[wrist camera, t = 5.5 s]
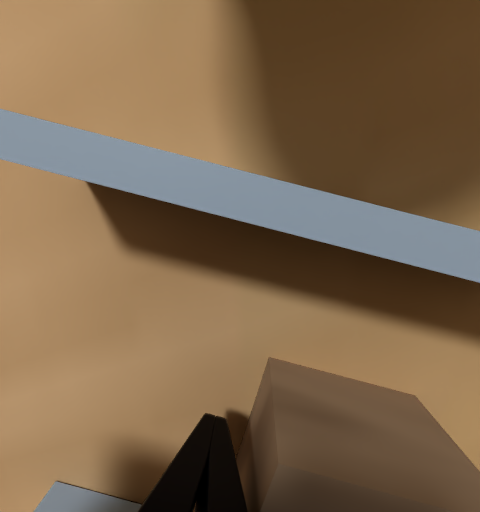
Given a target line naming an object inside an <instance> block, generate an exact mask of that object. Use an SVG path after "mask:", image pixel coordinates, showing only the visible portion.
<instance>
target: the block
mask: <svg viewBox="0 0 480 512" xmlns="http://www.w3.org/2000/svg"><path fill="white" fill-rule="evenodd" d="M236 463H237V467H238V471H239V475H240V480H241V484H242V488H243V493H244V497H245V501H246V506H247V510H248V512H480V471H479V470H478V469H477V468H476V467H475V466H474V464H473V463H472V462H471V461H470V460H469V459H468V457H467V456H466V455H465V454H464V453H463V451H462V450H461V449H460V448H459V447H458V446H457V444H456V443H455V442H454V441H453V440H452V438H451V437H450V436H449V435H448V434H447V433H446V431H445V430H444V429H443V428H442V427H441V426H440V424H439V423H438V422H437V421H436V420H435V418H434V417H433V416H432V415H431V414H430V413H429V411H428V410H427V409H426V408H425V407H424V406H423V404H422V403H421V402H420V401H419V400H418V398H417V397H416V396H415V395H411V394H407V393H403V392H399V391H396V390H392V389H388V388H384V387H380V386H377V385H373V384H369V383H365V382H362V381H358V380H354V379H350V378H346V377H343V376H339V375H335V374H331V373H327V372H324V371H320V370H316V369H312V368H308V367H305V366H301V365H297V364H293V363H290V362H286V361H282V360H278V359H274V358H271V357H269V358H268V362H267V365H266V368H265V371H264V374H263V377H262V380H261V383H260V386H259V389H258V393H257V396H256V399H255V402H254V405H253V408H252V411H251V414H250V417H249V421H248V424H247V427H246V430H245V433H244V436H243V439H242V442H241V445H240V448H239V452H238V455H237V458H236Z"/></svg>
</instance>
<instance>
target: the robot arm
mask: <svg viewBox="0 0 480 512" xmlns="http://www.w3.org/2000/svg"><path fill="white" fill-rule="evenodd" d="M195 503H196V506H195ZM194 507H195V512H248V510H247V506H246V501H245V497H244V493H243V488H242V484H241V480H240V475H239V471H238V467H237V463H236V458H235V454H234V450H233V445H232V441H231V437H230V433H229V428H228V424H227V420H226V419H225V418H223V417H219V416H216V417H215V415H212V414H208V413H205V414H204V415H203V417H202V418H201V420H200V421H199V423H198V424H197V426H196V427H195V429H194V430H193V431H192V433H191V434H190V436H189V437H188V439H187V440H186V442H185V443H184V445H183V446H182V447H181V449H180V450H179V452H178V453H177V455H176V456H175V458H174V459H173V461H172V462H171V464H170V465H169V466H168V468H167V469H166V471H165V472H164V474H163V475H162V477H161V478H160V480H159V481H158V483H157V484H156V485H155V487H154V488H153V490H152V491H151V493H150V494H149V496H148V497H147V499H146V500H145V501H144V503H143V504H142V506H141V507H140V509H139V510H138V512H193V510H194Z"/></svg>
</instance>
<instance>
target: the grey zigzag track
mask: <svg viewBox="0 0 480 512" xmlns="http://www.w3.org/2000/svg"><path fill="white" fill-rule="evenodd" d="M0 159H2V160H6V161H10V162H14V163H18V164H22V165H25V166H29V167H33V168H37V169H41V170H45V171H49V172H53V173H56V174H60V175H64V176H68V177H72V178H76V179H80V180H84V181H87V182H91V183H95V184H99V185H103V186H107V187H111V188H115V189H118V190H122V191H126V192H130V193H134V194H138V195H142V196H146V197H149V198H153V199H157V200H161V201H165V202H169V203H173V204H177V205H180V206H184V207H188V208H192V209H196V210H200V211H204V212H208V213H211V214H215V215H219V216H223V217H227V218H231V219H235V220H239V221H242V222H246V223H250V224H254V225H258V226H262V227H266V228H270V229H273V230H277V231H281V232H285V233H289V234H293V235H297V236H301V237H305V238H308V239H312V240H316V241H320V242H324V243H328V244H332V245H336V246H339V247H343V248H347V249H351V250H355V251H359V252H363V253H367V254H370V255H374V256H378V257H382V258H386V259H390V260H394V261H398V262H401V263H405V264H409V265H413V266H417V267H421V268H425V269H429V270H432V271H436V272H440V273H444V274H448V275H452V276H456V277H460V278H463V279H467V280H471V281H475V282H479V283H480V231H476V230H472V229H468V228H465V227H461V226H457V225H453V224H449V223H445V222H441V221H437V220H433V219H429V218H425V217H422V216H418V215H414V214H410V213H406V212H402V211H398V210H394V209H390V208H386V207H382V206H378V205H375V204H371V203H367V202H363V201H359V200H355V199H351V198H347V197H343V196H339V195H335V194H332V193H328V192H324V191H320V190H316V189H312V188H308V187H304V186H300V185H296V184H292V183H288V182H285V181H281V180H277V179H273V178H269V177H265V176H261V175H257V174H253V173H249V172H245V171H241V170H238V169H234V168H230V167H226V166H222V165H218V164H214V163H210V162H206V161H202V160H198V159H195V158H191V157H187V156H183V155H179V154H175V153H171V152H167V151H163V150H159V149H155V148H151V147H148V146H144V145H140V144H136V143H132V142H128V141H124V140H120V139H116V138H112V137H108V136H104V135H101V134H97V133H93V132H89V131H85V130H81V129H77V128H73V127H69V126H65V125H61V124H58V123H54V122H50V121H46V120H42V119H38V118H34V117H30V116H26V115H22V114H18V113H14V112H11V111H7V110H3V109H0ZM141 506H142V505H141V504H138V503H134V502H130V501H127V500H123V499H119V498H116V497H112V496H108V495H105V494H101V493H97V492H94V491H90V490H86V489H83V488H79V487H75V486H72V485H68V484H64V483H61V482H57V481H56V482H55V483H54V484H53V486H52V487H51V488H50V490H49V491H48V493H47V494H46V495H45V497H44V498H43V499H42V501H41V502H40V504H39V505H38V506H37V508H36V509H35V510H34V512H138V510H139V509H140V507H141Z"/></svg>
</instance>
